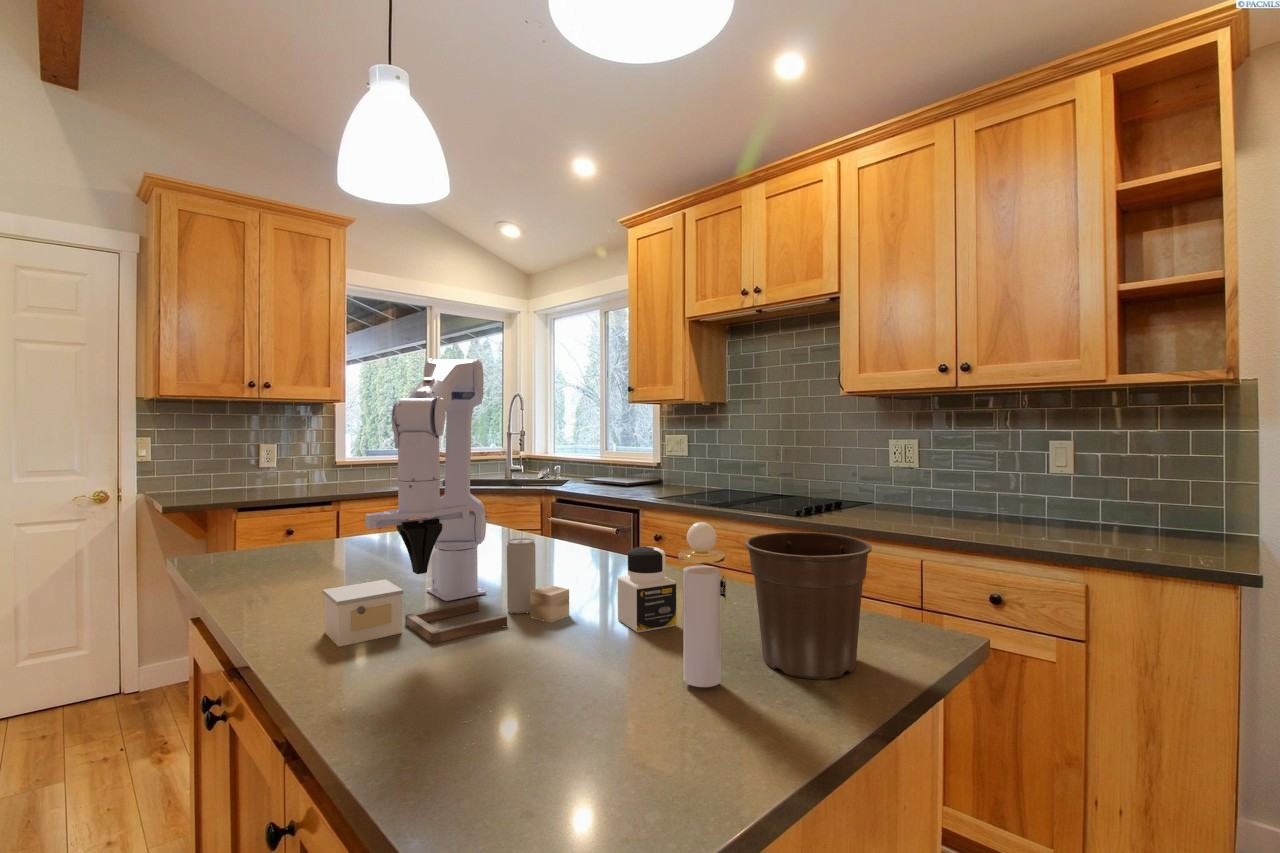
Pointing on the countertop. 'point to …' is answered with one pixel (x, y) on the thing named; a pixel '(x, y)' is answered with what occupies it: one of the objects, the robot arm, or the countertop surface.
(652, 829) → the countertop surface
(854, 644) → the plant pot
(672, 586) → the medicine bottle
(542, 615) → the beech block
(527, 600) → the beverage can
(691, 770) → the countertop surface
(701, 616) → the perfume bottle
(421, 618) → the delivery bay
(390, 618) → the control box
